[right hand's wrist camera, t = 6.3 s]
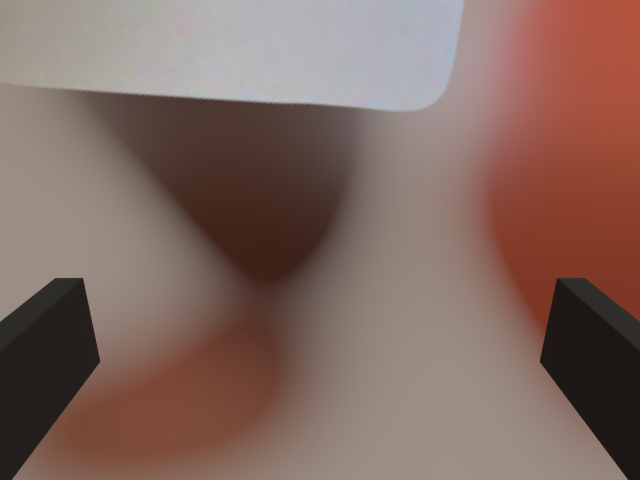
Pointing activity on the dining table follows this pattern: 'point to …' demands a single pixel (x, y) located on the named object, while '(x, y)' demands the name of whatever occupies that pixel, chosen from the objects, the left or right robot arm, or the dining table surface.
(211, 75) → the dining table surface
